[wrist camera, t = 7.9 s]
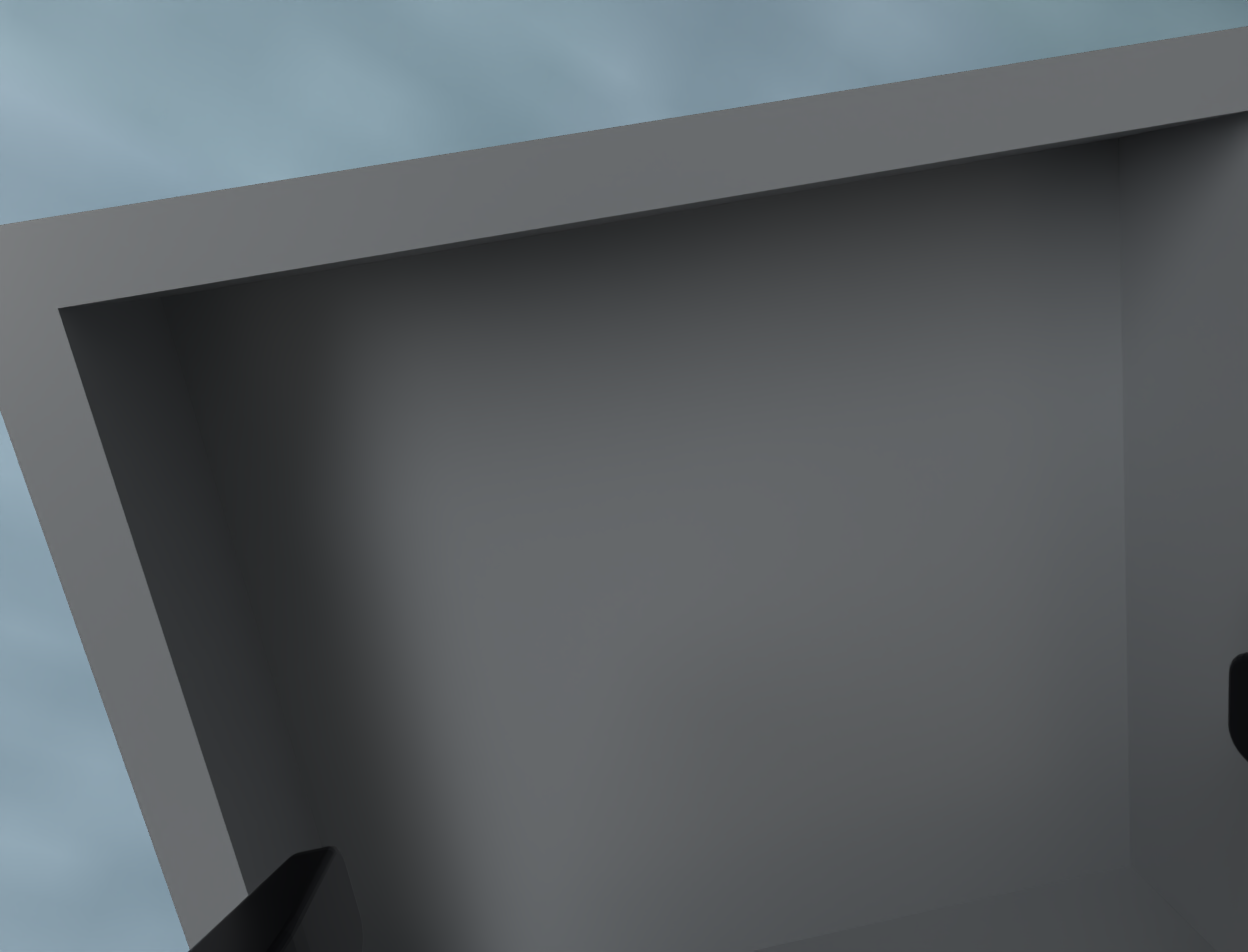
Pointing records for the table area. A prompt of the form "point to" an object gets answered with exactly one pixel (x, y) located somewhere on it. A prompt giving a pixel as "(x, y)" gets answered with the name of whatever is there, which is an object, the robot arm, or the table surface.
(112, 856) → the table surface
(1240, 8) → the table surface
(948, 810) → the bin
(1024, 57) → the table surface
